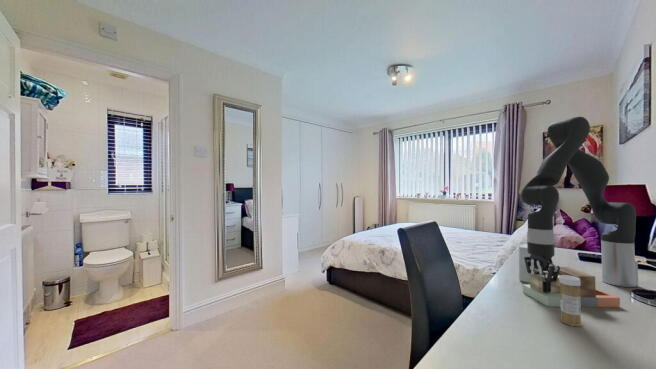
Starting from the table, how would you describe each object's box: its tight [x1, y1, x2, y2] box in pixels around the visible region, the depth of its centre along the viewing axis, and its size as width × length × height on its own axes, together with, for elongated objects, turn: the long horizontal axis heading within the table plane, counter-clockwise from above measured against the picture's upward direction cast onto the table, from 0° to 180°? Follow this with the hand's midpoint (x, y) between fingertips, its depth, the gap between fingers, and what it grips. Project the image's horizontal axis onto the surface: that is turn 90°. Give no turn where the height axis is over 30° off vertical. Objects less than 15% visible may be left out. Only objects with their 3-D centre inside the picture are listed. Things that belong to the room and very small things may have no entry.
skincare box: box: [518, 243, 537, 284], centre depth 112 cm, size 8×6×15 cm
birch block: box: [529, 274, 561, 293], centre depth 93 cm, size 12×4×5 cm, turn 88°
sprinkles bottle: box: [559, 275, 582, 327], centre depth 77 cm, size 5×5×13 cm
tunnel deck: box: [522, 266, 621, 308], centre depth 93 cm, size 23×12×10 cm, turn 88°
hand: (541, 289), depth 93 cm, fingers closed on birch block, 4 cm apart
